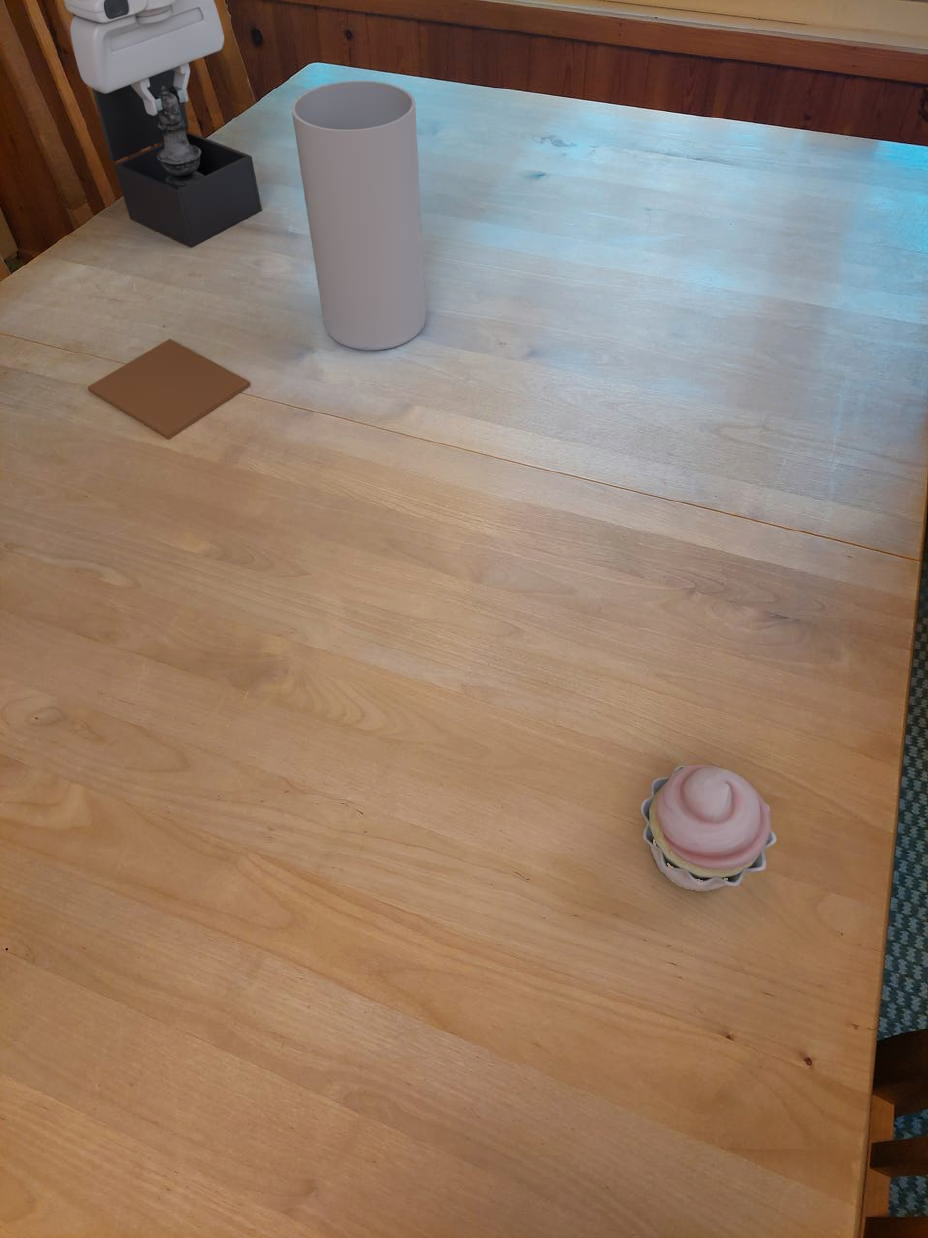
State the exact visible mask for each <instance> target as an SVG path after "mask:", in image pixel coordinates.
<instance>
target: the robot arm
mask: <svg viewBox="0 0 928 1238" xmlns="http://www.w3.org/2000/svg"><path fill="white" fill-rule="evenodd" d="M63 2H64V6H65V8H66V10H67V11H68V12H69V13H71V14H73V15H74V16H73V18H72V20H71V22H70V30H69V31H70V39H71V44H72V50H73V53H74V58H75V61H76V65H77V69H78V72H79V75H80V78H81V80H82V82H83V83H84V84H85V85H86V86H87V87H88V88H90V89H91V90H92V89H94V90H96V91H98V92H101V93H105V94H107V93H110V92H112V91H115V90H118V89H120V88H123V87H125V86H128V85H131V86H132V88H133V89H134V90H135V91H136V92H137V93H138V95H139V96H140V97H141V98H142V99H143V101H144V105H145V109H146V112H147V113H148V114H150V115H153V116H154V115H157V114H159V113H161V112H163V107H162V106H161V105H162V102H161V98H158V97H155V96H153V95H152V94H151V93H150V92H149V91H148V89H147V88H148V87H150V83H149V77H152V76H154V75H157V74H160V73H162V72H165V71H167V70H170V69H171V70H173V71H175V75H174V83H173V87H170V88H169V92H170V93H172V94H174V95H175V96H176V98H177V100H178V104H179V105H181V104H186V103H189V95H188V91H187V88H188V84H189V79H190V74H191V67H190V64H189V63H192V62H194V61H197V60H199V59H201V58H204V57H207V56H209V55H212V54H215V53H217V52H220V51H222V49H223V48H224V47H223V46H224V43H225V34H224V30H223V29H224V28H223V26H222V22H221V19H220V14H219V11H218V8H217V5H216V3H215V0H63Z"/></svg>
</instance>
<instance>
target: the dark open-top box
mask: <svg viewBox="0 0 928 1238" xmlns="http://www.w3.org/2000/svg"><path fill="white" fill-rule="evenodd" d="M185 132H186V137H187V140H188V142H189V144H190V145H194V146H196V147H198V148H199V149H200V150H201V155H200V164H199V167H198V169H197V170H196V171H198V172H200V173H201V174H203V175H204V177H202V178H200V179H198V180H196V181H194V182H192V183H190V184H188V185H186V186H184V187H182V188H179V189H175V188H173V187H171V186H168V185H167V184H166V179H167V177H168V176H170V175H171V174H170V173H168V172H167V171H166V170H165V169H164V167H163V166H162V164H161V161H159V160H158V158H157V154H158V152H159V151H160V150H162V149H163V148H164V142H161V143H159V144H157V145H155V146H153V147H151V148H148V149H146V150H143V151H142V152H139V153H137V154H135V155H133V156H130V157H128V158H126V159H123V160H121V161H119V162H116V163H114V164H113V167H114V170H115V171H114V172H115V173H116V177H117V181H118V184H119V187H120V190H121V194H122V197H123V200H124V203H125V206H126V209H127V210H126V211H127V213H128V217H129V220H131V221H132V222H135V223H137V224H140V225H142V226H144V227H146V228H148V229H150V230H152V231H155V232H157V233H158V234H161V235H163V236H165V237H168V239H169V238H170V239H171V240H174V241H176V242H178V243H180V244H183V245H184V246H187V247H189V248H191V249H192V248H194V247H196V246H198V245H199V244H201V243H203V242H205V241H207V240H209V239H211V238H212V237H214V236H217V235H218V234H220V233H223V232H224V231H226V230H228V229H230V228H231V227H233V226H236V225H237V224H240V223H241V222H243V221H245V220H246V219H249V218H250V217H252V216H254V215H257V214H258V213H260V212H262V211H263V208H262V203H261V199H260V194H259V188H258V183H257V178H256V172H255V167H254V166H255V165H254V162H253V156H252V155H249V154H247V153H244V152H242V151H240V150H237V149H234V148H233V147H232V148H231V147H229V146H227V145H224V144H222V143H219V142H217V141H215V140H211V139H210V138H209V139H208V138H206V137H204V136H201V135H198V134H197V133H193V132H191V131H185Z"/></svg>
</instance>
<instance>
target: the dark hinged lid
mask: <svg viewBox="0 0 928 1238" xmlns="http://www.w3.org/2000/svg"><path fill="white" fill-rule="evenodd" d="M174 75H175V71H173V70H171V69H170V70H167V71H165V72H162V73H160V74H157V75H154V76H152V77H149V83H150V87H148V88H147V89H148V91H149V92H150V93H151V94H152V95H153V96H155V97H157V96H158V95H159V94H160V93H161V92H162V90H161V88H162V86H164V87H165V88H166V91H167V92H169V88H170V87H173V83H174ZM91 91H92V94H93V98H94V102H95V107H96V110H97V113H98V118H99V121H100V124H101V128H102V132H103V136H104V141H105V145H106V148H107V152H108V156H109V159H110V161H111V162H113V163H115V162H117V161H120V160H122V159H124V158H127V157H129V156H131V155H134V154H136V153H137V152H140V151H142V150H144V149H147V148H149V147H151V146H153V145H156V144H158V143H160V142H162V141H163V142H164V137H163V133H162V129H160V128H159V127H158V124H159V122H160V119H159V115H158V114H157V115H154V116H153V115H150V114H148V113H147V112H146V109H145V105H144V101H143V99H142V98H141V97H140V96H139V95H138V93H137V92H136V91H135V90H134V89H133V88H132V86H131V85H128V86H125V87H123V88H120V89H118V90H115V91H112V92H110V93H107V94H105V93H101V92H98V91H96V90H94V89H91ZM169 93H170V92H169ZM179 109H180V113H181V118H182V119H183V120H185V122H186V124H185V126H184V128H185V131H187V130H189V129H190V126H189V120H188V115H187V109H186V103H184V104H181V105H179Z"/></svg>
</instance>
